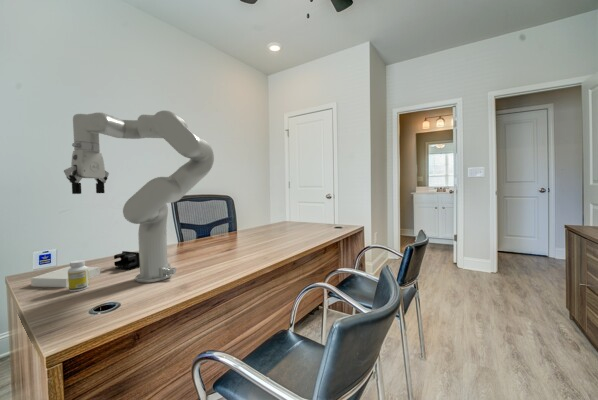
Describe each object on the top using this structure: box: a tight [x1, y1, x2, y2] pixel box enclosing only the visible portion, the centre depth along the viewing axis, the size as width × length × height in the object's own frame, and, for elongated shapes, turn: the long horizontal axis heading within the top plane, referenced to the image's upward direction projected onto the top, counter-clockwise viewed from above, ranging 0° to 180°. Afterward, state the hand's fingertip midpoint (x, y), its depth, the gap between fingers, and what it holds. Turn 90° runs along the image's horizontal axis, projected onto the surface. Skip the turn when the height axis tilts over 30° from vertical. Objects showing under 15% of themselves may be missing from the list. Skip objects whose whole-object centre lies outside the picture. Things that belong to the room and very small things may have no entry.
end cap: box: [113, 250, 140, 271], centre depth 117 cm, size 10×7×7 cm
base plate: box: [30, 265, 101, 288], centre depth 101 cm, size 14×14×3 cm
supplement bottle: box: [68, 259, 90, 293], centre depth 92 cm, size 5×5×10 cm
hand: (89, 193), depth 101 cm, fingers open, 9 cm apart
